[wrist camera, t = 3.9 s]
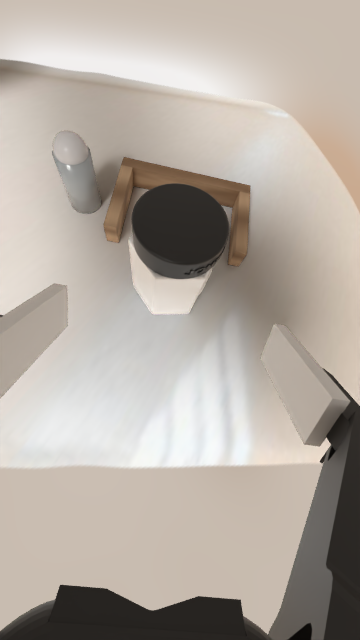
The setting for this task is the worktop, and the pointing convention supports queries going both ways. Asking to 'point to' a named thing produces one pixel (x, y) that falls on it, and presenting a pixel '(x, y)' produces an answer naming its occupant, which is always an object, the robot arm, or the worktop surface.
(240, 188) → the dock
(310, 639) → the robot arm
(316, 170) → the worktop surface
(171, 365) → the worktop surface
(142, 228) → the jar
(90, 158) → the shaker
